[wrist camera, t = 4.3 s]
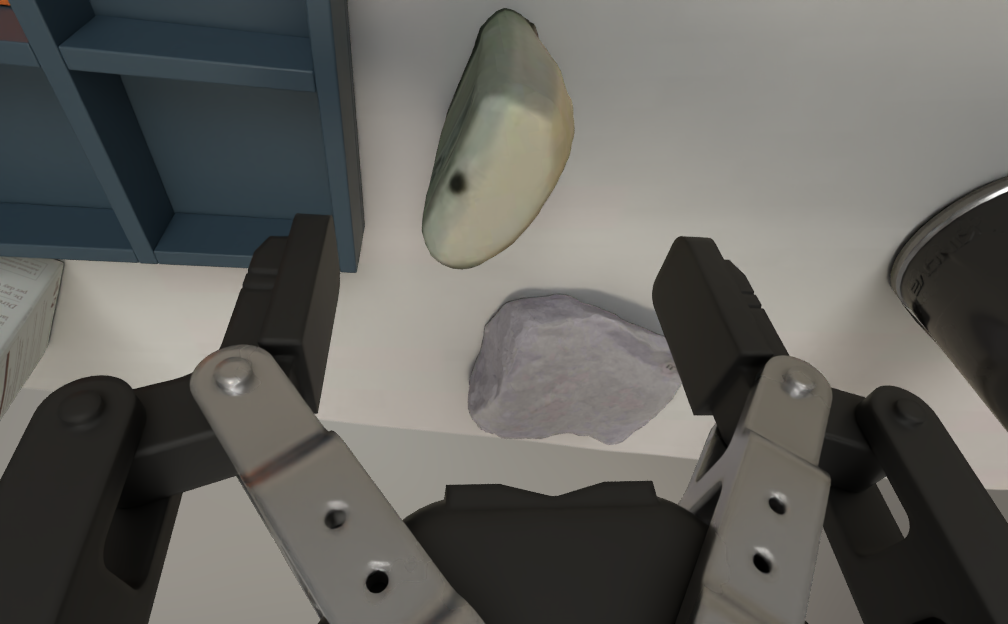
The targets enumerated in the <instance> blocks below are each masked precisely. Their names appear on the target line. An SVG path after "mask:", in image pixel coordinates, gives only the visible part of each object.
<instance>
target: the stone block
mask: <svg viewBox="0 0 1008 624" xmlns="http://www.w3.org/2000/svg"><path fill="white" fill-rule="evenodd" d="M681 384H682V382H681V379H680V376H679V374H678V371H677V368H676V365H675V363H674V360H673V357H672V354H671V352H670V349H669V346H668V344H667V341H666V338H665V337H664V336H662V335H659V334H656V333H653V332H651V331H649V330H647V329H645V328H643V327H640V326H638V325H634V324H630V323H628V322H626V321H624V320H623V319H621V318H619V317H618V316H617V315H616V314H613V313H610V312H608V311H605V310H603V309H601V308H598V307H596V306H594V305H590V304H585V303H582V302H580V301H578V300H577V299H575V298H573V297H570V296H568V295H560V294H555V295H551V296H544V297H532V298H523V299H518V300H514V301H511V302H508V303H506V304H505V305H504V306H503V307H502V308H501V309H500V311H499V312H498V313H497V314H496V315H495V316H494V318H493V319H492V320H491V321H490V322H489V323H488V324H486V325H485V329H484V338H483V341H482V347H481V351H480V354H479V356H478V357H477V360H476V363H475V366H474V369H473V371H472V374H471V378H470V380H469V385H470V387H469V394H468V410H469V413H470V415H471V417H472V419H473V420H474V421H475V422H476V423H477V426H478V427H479V428H480V429H481V430H484V431H485V432H489V433H492V434H495V435H497V436H499V437H501V438H504V439H523V438H527V439H543V438H546V437H549V436H552V435H557V434H563V433H573V434H576V435H578V436H590V437H593V438H595V439H597V440H598V441H601V442H603V443H605V444H609V445H613V444H618V443H621V442H623V441H624V440H625V439H627V438H628V437H629V436H630V435H631V434H632V433H633V432H635V431H636V430H638V429H640V428H642V427H643V426H645V425H646V424H647V423H648V422H649V421H650V420H651V419H653V418H654V417H655V416H656V415H657V414H658V413H659V412H660V411H661V410H662V409H663V408H665V406H666V405H667V404H668V403H669V402H670V401H671V400H672V399H673V397H674V395H675V394H676V392H677V390H678V389H679V387H680V386H681Z"/></svg>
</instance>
